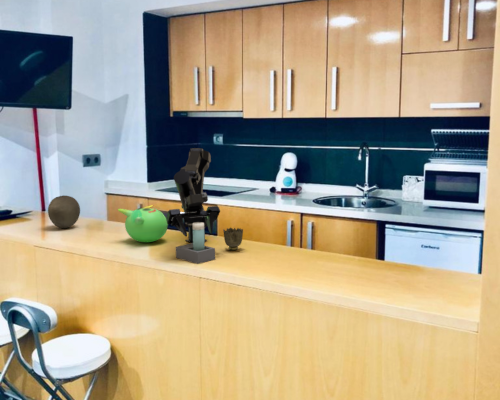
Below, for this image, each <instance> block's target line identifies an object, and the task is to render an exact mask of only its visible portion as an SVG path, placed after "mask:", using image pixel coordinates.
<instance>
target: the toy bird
mask: <svg viewBox="0 0 500 400" xmlns="http://www.w3.org/2000/svg"><path fill="white" fill-rule="evenodd" d="M153 207H154V204H152V205H147V206H144V207H139V208H136V209H135V210H131V209H125V208H118V209H117V211H118V212H119V213H121V214H122V215H124V216H126V218H125V221H124V226H125V227H124V228H125V231H126V233H127V234H128V236H129V237H131V239H133V240H135V241H137V242H139V243H153V242H156V241H158V240H160V239H162V238H163V237H164V236H165V235H166V233H167V231H168V226H169V225H168V224H167V221H166V217H167V216H165V215H164V213H163V212H162V211H160V210H158V209H156V208H153Z"/></svg>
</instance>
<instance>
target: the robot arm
mask: <svg viewBox="0 0 500 400" xmlns="http://www.w3.org/2000/svg"><path fill="white" fill-rule="evenodd" d="M211 158H212V156H211V153H210V152H209V151H207V150H205V149H203V148H201V147H197V148H196V147H194V148H193V147H192V148H190V150H189V152H188V159H187V161H186V164H185V166H182V167H181V168H180V169H179V171H178V172H176V173H175V174H174V176H173V181H174V184H175V187H176V189H177V192H178V196H179V198H180V202H181V209H183V212H182V211H181V210H180V208H174V209H169V210H168V211H167V214H166V216H165V217H166V221H167V224H168V226H169V225H170V226H172V227H175V228H176V229H178V231H180V232H181V234H182V235H184V236H185V238H188V239H185V242H187V243H193V223H195V222H203V223H204V229H206V228H207V229H208V232H209V233H210V235H212V234H213V227H214V222H215V221H216V220H218V218H219V215H220V213H221V210H220V207H219V206H217V205H211V206H207V208H206V210H205V208H204V206H203V204H204V203H207V201H208V200H209V197H208V194H207V192H204V191H203V190H204V183H205V182H204V181H205V180H204V179H205V173H206V172H207V171H208V170H209V167H210V163H211V162H212V159H211ZM186 228H187V229H188V231H187V229H186ZM205 233H206V232H205V230H204V243H205V242H208V239H206V238H205V237H206V234H205ZM187 236H188V237H187Z"/></svg>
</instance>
